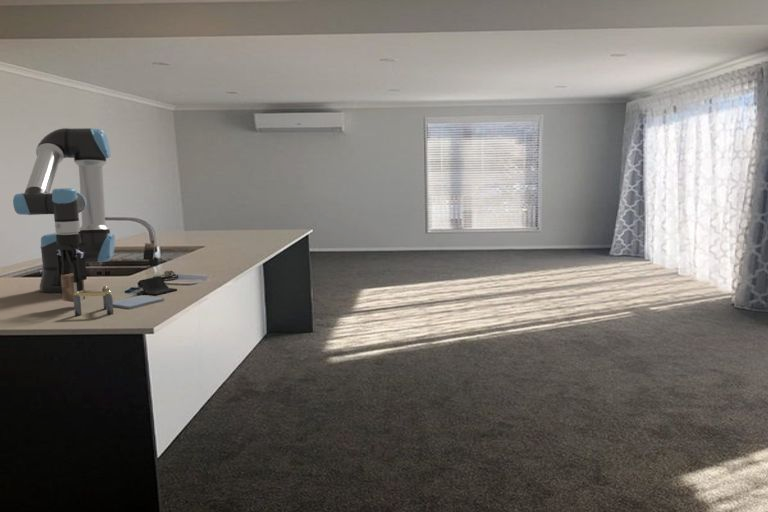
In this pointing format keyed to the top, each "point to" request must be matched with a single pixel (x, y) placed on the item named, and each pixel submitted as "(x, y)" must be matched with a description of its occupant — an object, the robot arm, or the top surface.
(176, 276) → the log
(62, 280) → the walnut block
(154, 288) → the handheld gaming console
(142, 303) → the pad
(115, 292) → the top surface
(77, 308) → the grey and gold frame
